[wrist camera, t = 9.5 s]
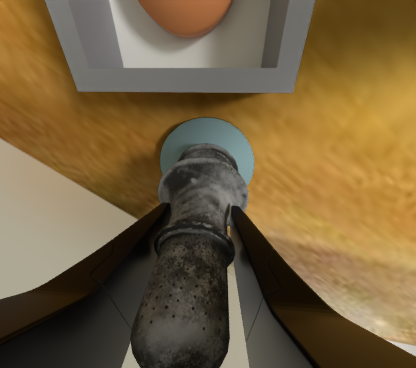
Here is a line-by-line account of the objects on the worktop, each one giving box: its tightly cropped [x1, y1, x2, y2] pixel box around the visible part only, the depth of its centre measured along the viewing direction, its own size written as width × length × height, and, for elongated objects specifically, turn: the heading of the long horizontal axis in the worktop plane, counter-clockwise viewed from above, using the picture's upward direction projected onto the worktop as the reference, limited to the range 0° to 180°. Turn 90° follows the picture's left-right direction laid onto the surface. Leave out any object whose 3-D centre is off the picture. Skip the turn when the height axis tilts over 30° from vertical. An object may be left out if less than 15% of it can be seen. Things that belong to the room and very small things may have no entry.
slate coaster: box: [160, 117, 254, 186], centre depth 15 cm, size 8×8×1 cm
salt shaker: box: [130, 143, 248, 368], centre depth 8 cm, size 6×6×12 cm
